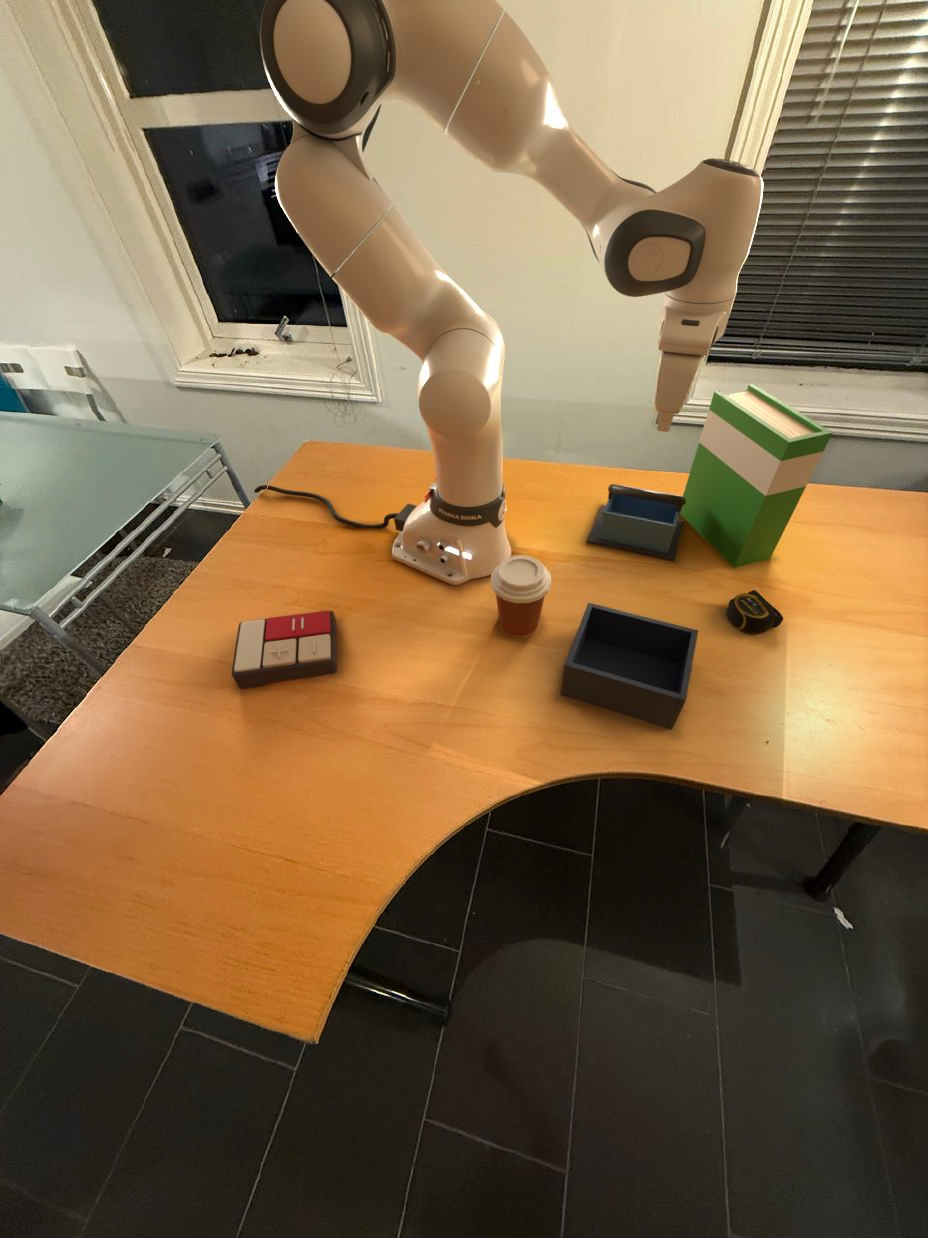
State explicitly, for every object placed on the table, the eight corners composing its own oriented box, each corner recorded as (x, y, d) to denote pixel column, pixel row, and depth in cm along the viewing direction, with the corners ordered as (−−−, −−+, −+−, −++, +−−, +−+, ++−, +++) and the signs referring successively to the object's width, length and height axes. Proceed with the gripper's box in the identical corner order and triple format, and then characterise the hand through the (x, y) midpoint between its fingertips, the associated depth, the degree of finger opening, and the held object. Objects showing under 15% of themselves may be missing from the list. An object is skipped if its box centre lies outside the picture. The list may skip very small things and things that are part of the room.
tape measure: (779, 631, 82) (789, 615, 79) (741, 642, 81) (750, 626, 78) (750, 602, 87) (758, 585, 84) (714, 612, 85) (721, 596, 83)
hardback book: (678, 511, 104) (714, 391, 86) (711, 504, 105) (753, 383, 87) (733, 568, 92) (788, 442, 74) (770, 558, 93) (832, 432, 76)
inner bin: (595, 538, 99) (602, 498, 92) (607, 509, 105) (614, 470, 98) (670, 553, 95) (683, 513, 88) (678, 523, 100) (690, 483, 94)
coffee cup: (497, 649, 82) (497, 595, 74) (486, 608, 89) (484, 554, 80) (553, 640, 83) (560, 586, 74) (538, 600, 89) (543, 545, 80)
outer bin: (559, 697, 76) (564, 665, 70) (582, 635, 84) (588, 602, 78) (671, 732, 71) (685, 700, 66) (684, 663, 79) (698, 630, 73)
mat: (586, 542, 99) (586, 540, 98) (601, 507, 106) (601, 504, 106) (674, 562, 94) (675, 559, 94) (683, 523, 101) (684, 520, 101)
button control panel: (333, 658, 78) (229, 672, 76) (338, 675, 81) (238, 689, 80) (332, 606, 86) (237, 618, 84) (337, 624, 89) (245, 636, 87)
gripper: (679, 291, 78) (658, 384, 89) (657, 341, 66) (635, 442, 76) (724, 295, 77) (697, 389, 87) (710, 347, 64) (680, 450, 74)
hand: (668, 415), depth 81 cm, fingers open, 8 cm apart
